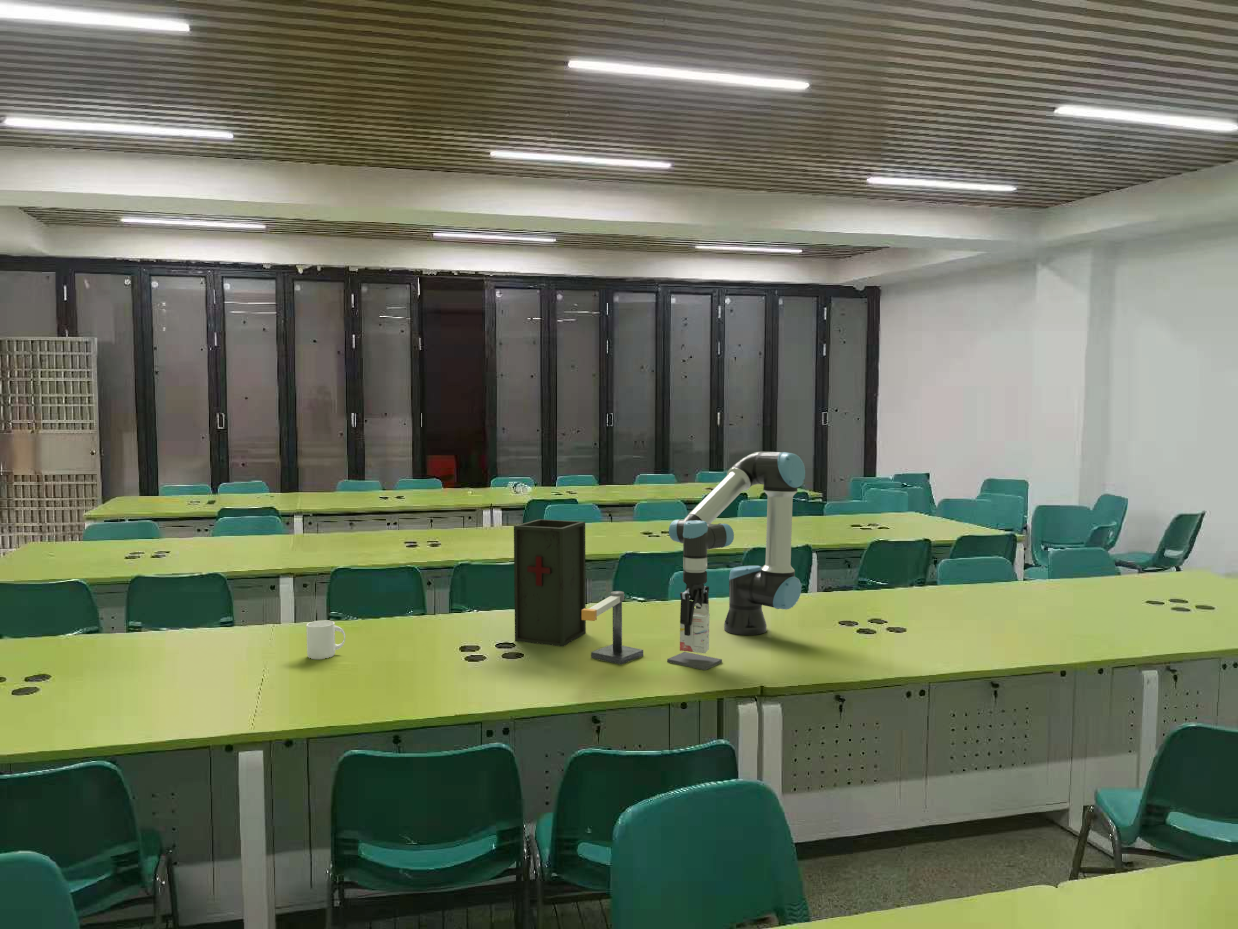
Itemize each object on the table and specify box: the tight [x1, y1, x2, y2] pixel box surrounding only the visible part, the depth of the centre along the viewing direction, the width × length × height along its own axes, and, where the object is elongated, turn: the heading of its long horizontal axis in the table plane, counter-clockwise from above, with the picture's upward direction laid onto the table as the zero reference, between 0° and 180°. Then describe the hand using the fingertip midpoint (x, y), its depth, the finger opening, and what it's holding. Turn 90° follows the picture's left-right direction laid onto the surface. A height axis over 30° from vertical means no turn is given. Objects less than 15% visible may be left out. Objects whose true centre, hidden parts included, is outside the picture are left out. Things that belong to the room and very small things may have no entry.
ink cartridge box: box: [679, 603, 710, 654], centre depth 270 cm, size 9×5×15 cm, turn 70°
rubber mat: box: [667, 651, 723, 671], centre depth 271 cm, size 10×14×1 cm
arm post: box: [590, 601, 644, 666], centre depth 277 cm, size 12×12×18 cm
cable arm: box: [582, 590, 625, 622], centre depth 265 cm, size 27×4×3 cm, turn 159°
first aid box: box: [513, 518, 587, 648], centre depth 300 cm, size 18×18×40 cm
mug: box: [305, 619, 346, 660], centre depth 279 cm, size 9×12×11 cm
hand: (694, 642), depth 271 cm, fingers closed on ink cartridge box, 6 cm apart
